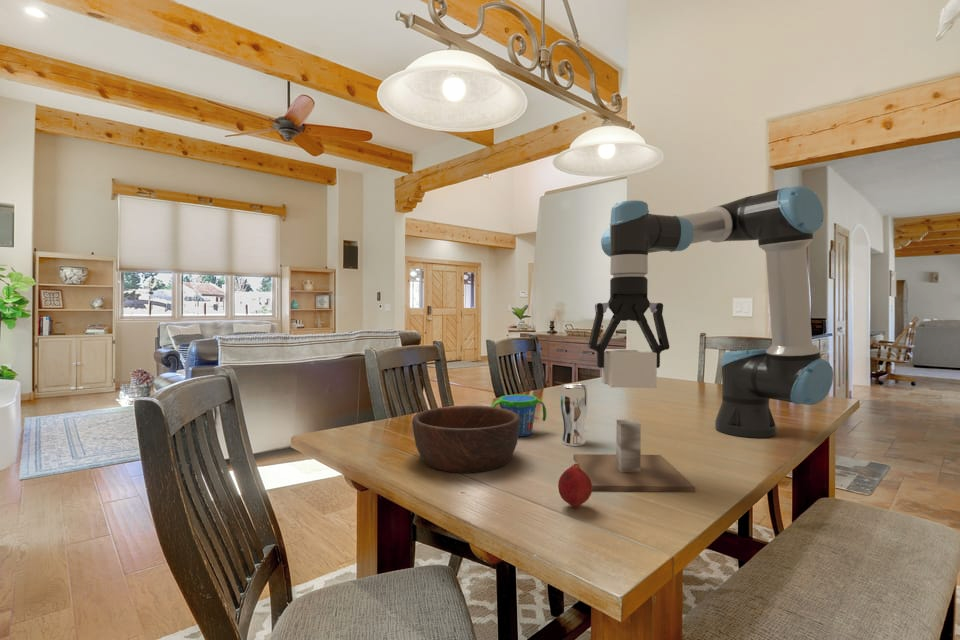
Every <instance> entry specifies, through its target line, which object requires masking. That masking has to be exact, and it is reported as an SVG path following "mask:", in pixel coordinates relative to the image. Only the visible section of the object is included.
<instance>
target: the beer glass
mask: <svg viewBox="0 0 960 640" xmlns="http://www.w3.org/2000/svg"><path fill="white" fill-rule="evenodd" d="M559 396H560V398H559V402H560V403H559V404H560V414H561V421H562V425H563V426H562V427H563V431H562V433H563V434H562V439H561V442H562V444H563V445H565V446H569V447H583V446H585V445H586V442H587V441H586V436H585V425H586V417H587V413H588V412H587V411H588V388H587V385H585V384H582V383H564V384H561V385H560V395H559Z"/></svg>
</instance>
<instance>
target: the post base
mask: <svg viewBox="0 0 960 640" xmlns="http://www.w3.org/2000/svg"><path fill="white" fill-rule="evenodd" d="M641 429H642V428H641V423H640V422H639V421H637V420H636V419H616V432H615V433H616V435H615V437H616V443H615V444H616V448H615V449H616V450H615V451H616V454H614V453H613V454H612V453H611V454H605V453H604V454H600V453H599V454H597V453H596V454H595V453H593V454H592V453H589V454H588V453H587V454H586V453H581V454H580V453H574V454H573V460H574V463H575V462H576V463H577V462H578V463H579V465H580V466H579V468H580V469H581V470H583V471H584V472H585V473H586V474H587V475H588V477H589V479H590V481H591V483H592V492H594V491H595V492H596V491H597V492H598V491H599V492H678V493H679V492H680V493H681V492H685V493H686V492H688V493H690V492H692V493H693V492H696V487H695V485H694V484H693V483H692V482H691V481H690V480H688V478H686V477H685V476H684V475H683V474H682V473H681V472H680V471H679V470H678V469H677V468H675V467H674V465H673V464H671V463H670V462H669V461H668V460H667V459H666V458H665V457H664V456H663V455H661V454H641V453H642V452H641V447H642V446H641V444H642V443H641V436H642V435H641V433H642V432H641Z"/></svg>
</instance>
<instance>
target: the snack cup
mask: <svg viewBox="0 0 960 640" xmlns="http://www.w3.org/2000/svg"><path fill="white" fill-rule="evenodd" d="M538 403H540V404H541V405H542V422H545V421H546V419H547V407H546V405H545V404H544V402H543V401H542V400H541V399H539V398H538V397H537V396H536V395H531V394H507V395H506V394H505V395H502V396H500V397H499V399H497V400H495V401H494V402H493V404H492V406H491V407H496V406H497V405H498V404H499V406H500V407H499V408H502V409H507V410H510V411H513V412H515V413H516V414H518V415H519V417H520V427H519V434H518V437H525V436H527V437H528V436H530V435H531V434H532V433H533V429H534V422H535V412H536V408H537V404H538Z"/></svg>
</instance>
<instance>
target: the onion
mask: <svg viewBox="0 0 960 640" xmlns="http://www.w3.org/2000/svg"><path fill="white" fill-rule="evenodd" d="M579 466H580V465H579V463H578V462H577V463H576V462H575V461H574V462H573V463H572V465H571V466H570V467H568V468H567V469H566V470H565V471H563V473H562V474H561V475H560V477H559V479H558V482H557V486H558V493H559V495H560V498H561V499H562V500H563V501H564V502H565V503H567V504H568V505H569V506H571V507H572V508H575V509H577V508H579V507H580V506H581V505H582V504H584V503H585V502H587V501H588V500H589V499H590V497H591V495H592V493H593V491H592V483H591V481H590V479H589V477H588V475H587V474H586V473H585V472H584V471H583V470H581V469H580V468H579Z"/></svg>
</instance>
